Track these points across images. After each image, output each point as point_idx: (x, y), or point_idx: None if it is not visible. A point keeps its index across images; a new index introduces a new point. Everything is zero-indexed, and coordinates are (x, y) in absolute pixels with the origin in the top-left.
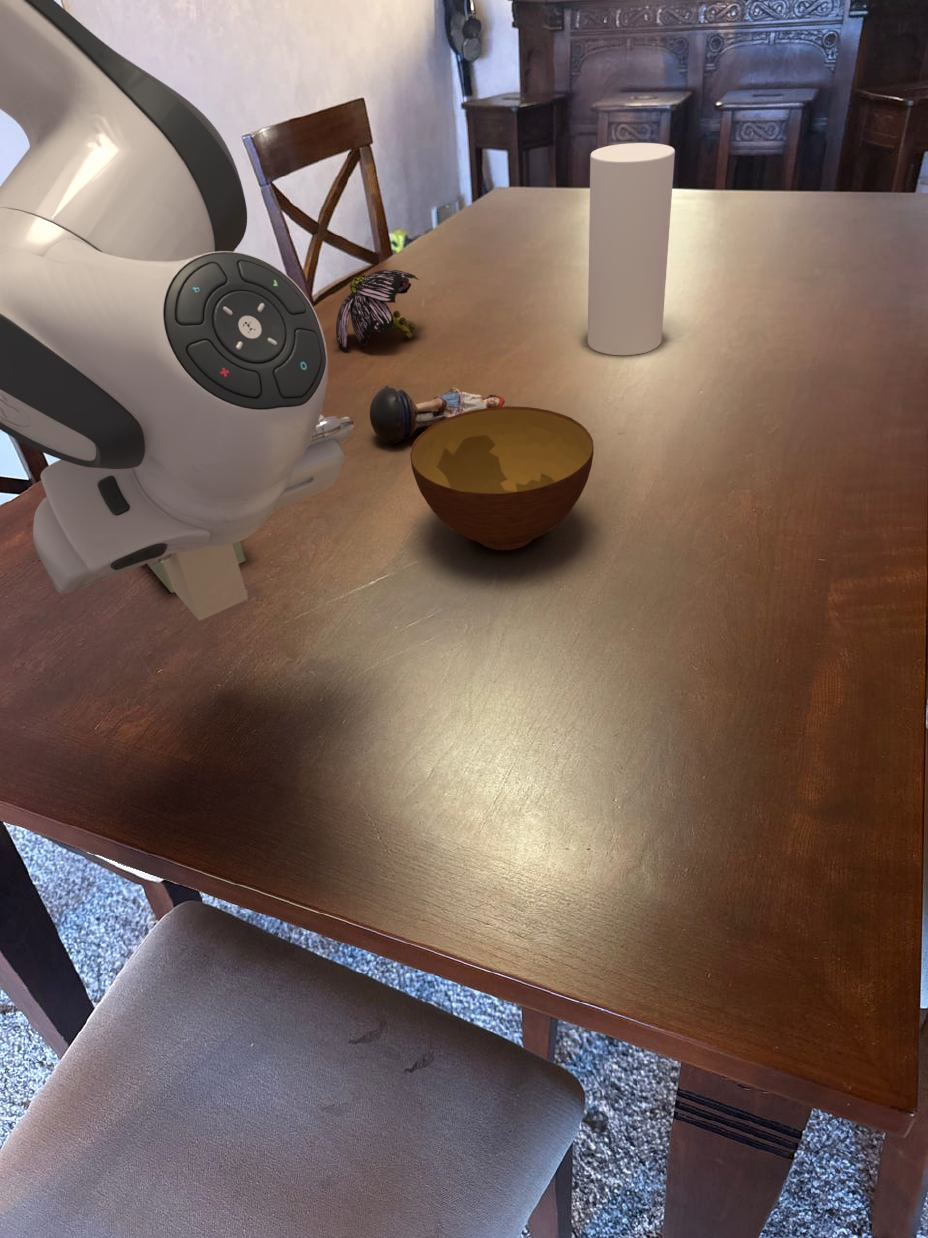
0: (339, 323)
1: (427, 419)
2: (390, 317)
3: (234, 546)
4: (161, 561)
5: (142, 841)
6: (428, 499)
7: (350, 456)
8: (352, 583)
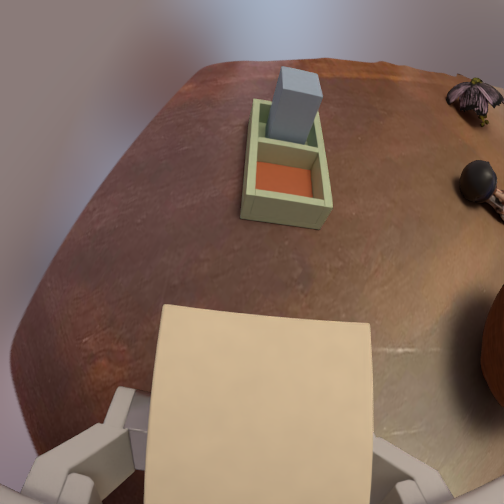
0: (455, 90)
1: (492, 201)
2: (486, 111)
3: (320, 216)
4: (247, 194)
5: None
6: (499, 342)
7: (436, 182)
8: (386, 337)
